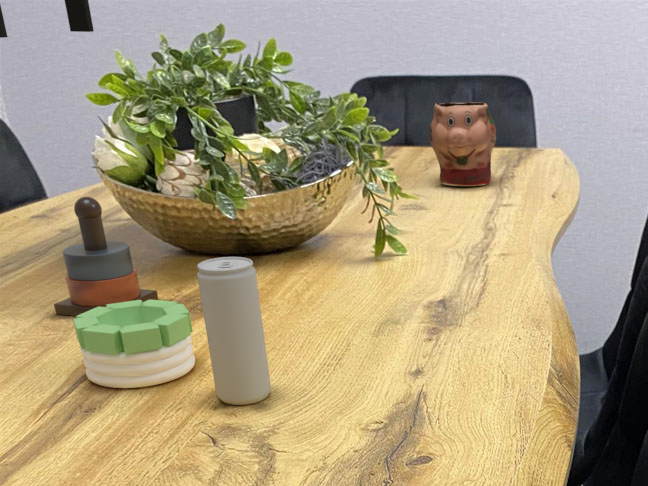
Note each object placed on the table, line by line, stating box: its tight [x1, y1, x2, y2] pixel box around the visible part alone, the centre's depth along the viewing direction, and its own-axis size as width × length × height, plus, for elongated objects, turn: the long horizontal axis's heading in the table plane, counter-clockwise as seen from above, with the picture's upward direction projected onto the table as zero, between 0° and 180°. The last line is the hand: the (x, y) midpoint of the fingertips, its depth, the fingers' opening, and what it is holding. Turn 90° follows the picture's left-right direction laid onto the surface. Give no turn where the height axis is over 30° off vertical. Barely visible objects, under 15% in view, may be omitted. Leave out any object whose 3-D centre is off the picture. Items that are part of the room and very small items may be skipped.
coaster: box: [79, 334, 196, 389], centre depth 92 cm, size 10×10×4 cm
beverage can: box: [196, 256, 272, 406], centre depth 84 cm, size 5×5×12 cm
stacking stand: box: [53, 196, 159, 317], centre depth 109 cm, size 8×8×12 cm
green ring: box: [72, 299, 194, 354], centre depth 91 cm, size 10×10×2 cm
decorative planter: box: [429, 101, 497, 187], centre depth 177 cm, size 20×12×14 cm, turn 5°
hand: (40, 34), depth 108 cm, fingers open, 13 cm apart
